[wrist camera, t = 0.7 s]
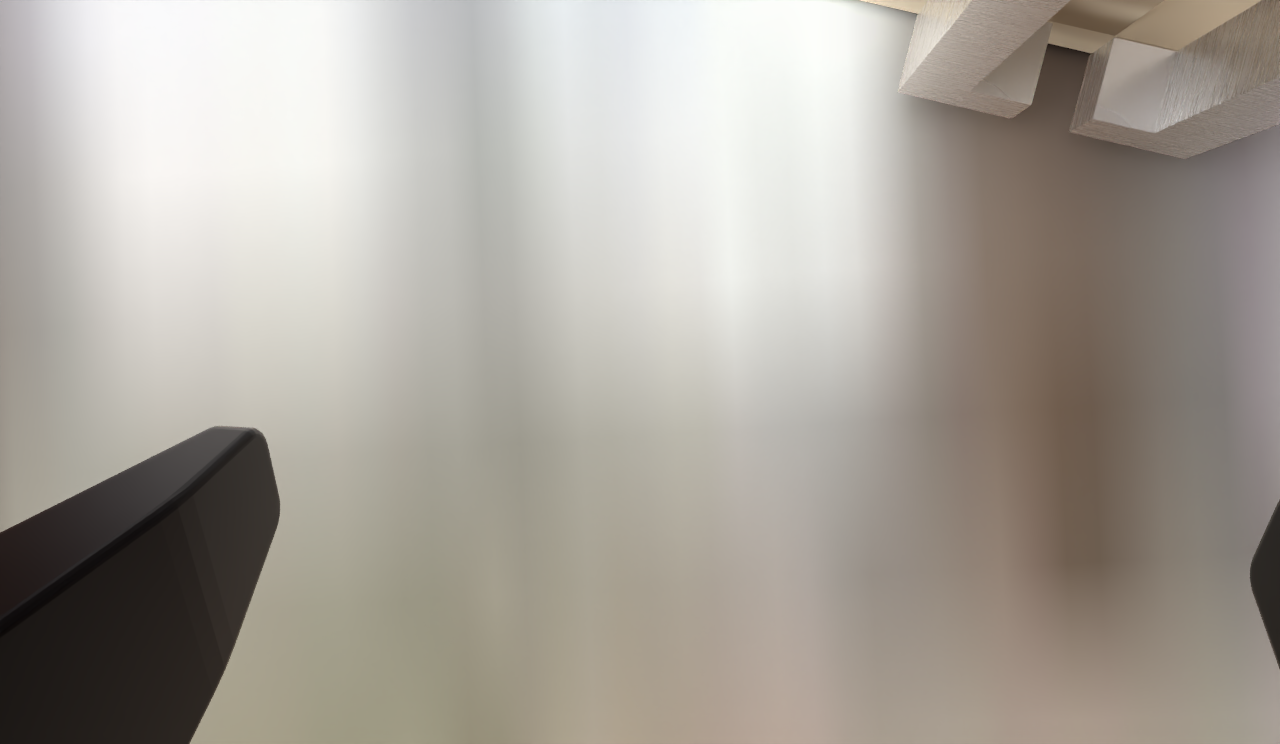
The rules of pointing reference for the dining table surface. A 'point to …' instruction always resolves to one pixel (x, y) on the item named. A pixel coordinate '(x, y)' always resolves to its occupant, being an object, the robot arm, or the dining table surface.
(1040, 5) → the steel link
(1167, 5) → the birch stand
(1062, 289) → the dining table surface
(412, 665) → the dining table surface
